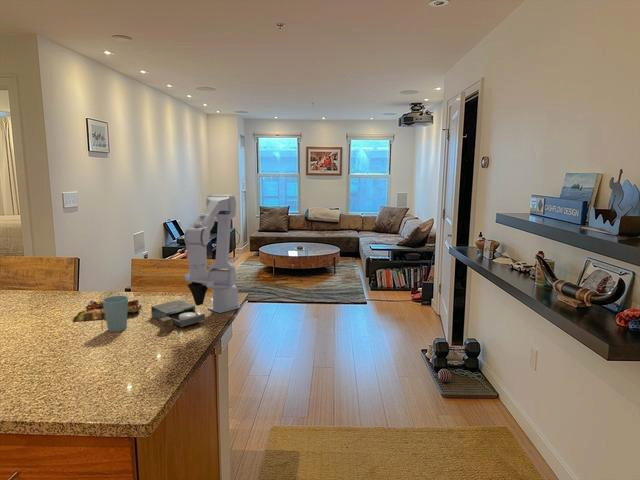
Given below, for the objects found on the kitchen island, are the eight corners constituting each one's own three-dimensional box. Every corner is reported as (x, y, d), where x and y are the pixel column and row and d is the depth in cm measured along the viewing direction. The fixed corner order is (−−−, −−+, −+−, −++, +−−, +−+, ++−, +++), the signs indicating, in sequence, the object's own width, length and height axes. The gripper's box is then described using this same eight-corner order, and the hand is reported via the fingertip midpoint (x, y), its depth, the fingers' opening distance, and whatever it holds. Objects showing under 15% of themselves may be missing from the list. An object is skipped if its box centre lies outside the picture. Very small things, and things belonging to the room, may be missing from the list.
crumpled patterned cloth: (146, 304, 163) (145, 295, 163) (137, 320, 145) (137, 311, 145) (85, 308, 158) (85, 299, 157) (69, 325, 140) (68, 315, 139)
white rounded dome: (199, 319, 141) (198, 314, 140) (184, 323, 136) (184, 319, 136) (190, 315, 144) (190, 311, 144) (175, 319, 140) (175, 315, 140)
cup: (130, 331, 133) (127, 300, 131) (103, 334, 130) (101, 303, 128) (130, 323, 140) (128, 294, 138) (105, 326, 137) (103, 297, 135)
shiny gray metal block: (179, 310, 154) (179, 299, 154) (195, 317, 147) (195, 305, 147) (151, 317, 146) (151, 306, 146) (166, 325, 139) (166, 313, 138)
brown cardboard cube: (168, 327, 136) (167, 316, 136) (173, 330, 134) (172, 318, 134) (160, 330, 134) (159, 318, 134) (164, 332, 132) (163, 321, 132)
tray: (189, 314, 147) (189, 307, 147) (205, 320, 141) (204, 314, 141) (167, 320, 141) (166, 313, 141) (181, 327, 134) (181, 320, 134)
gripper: (175, 262, 134) (176, 302, 136) (199, 269, 124) (200, 312, 126) (194, 259, 139) (195, 298, 141) (218, 266, 129) (219, 307, 131)
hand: (199, 304), depth 134 cm, fingers closed
